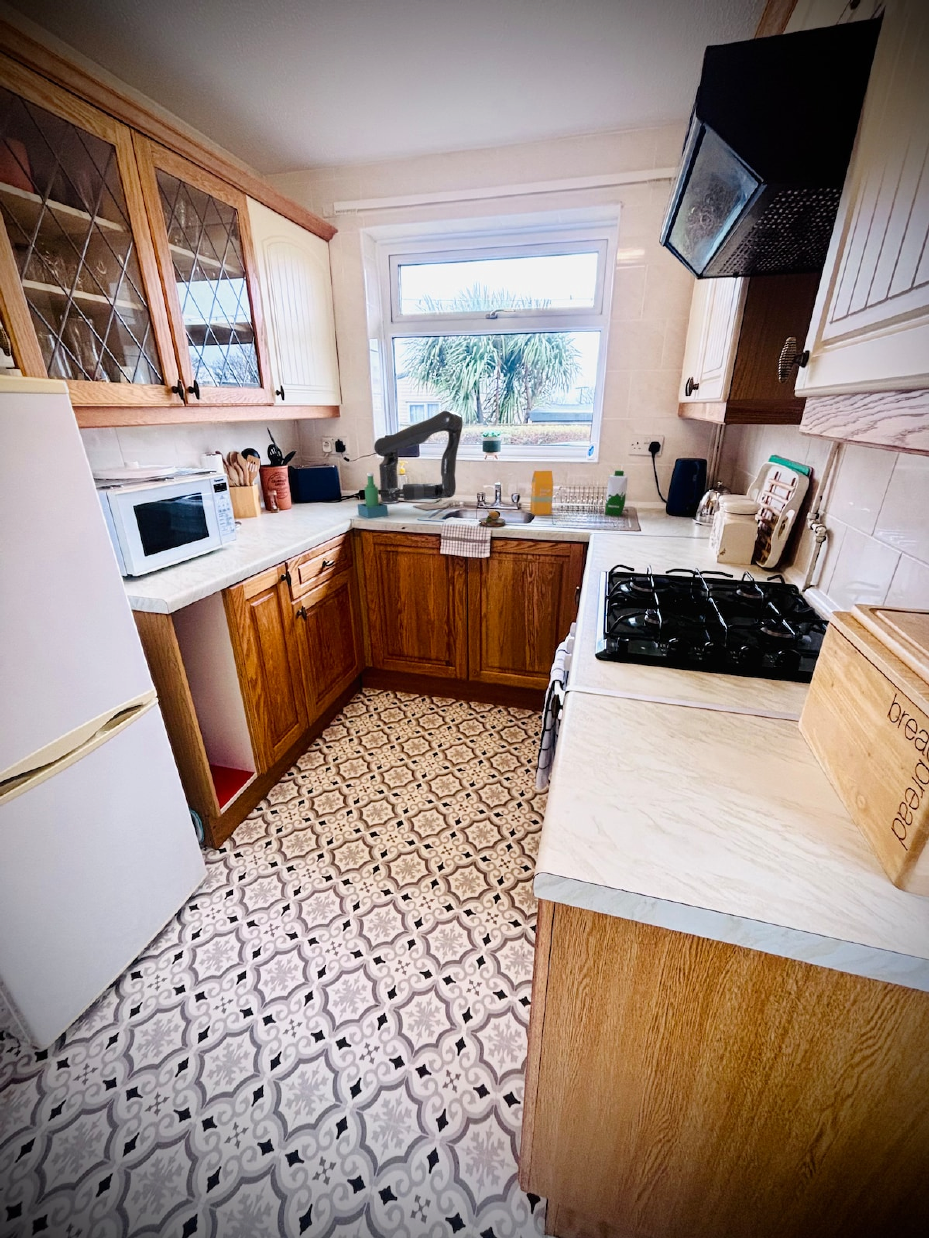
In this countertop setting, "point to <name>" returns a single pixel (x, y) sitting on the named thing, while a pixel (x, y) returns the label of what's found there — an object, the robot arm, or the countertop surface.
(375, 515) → the blue open box
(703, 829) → the countertop surface
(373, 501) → the bottle
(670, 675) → the countertop surface
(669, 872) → the countertop surface
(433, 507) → the board
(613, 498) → the milk carton
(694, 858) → the countertop surface
